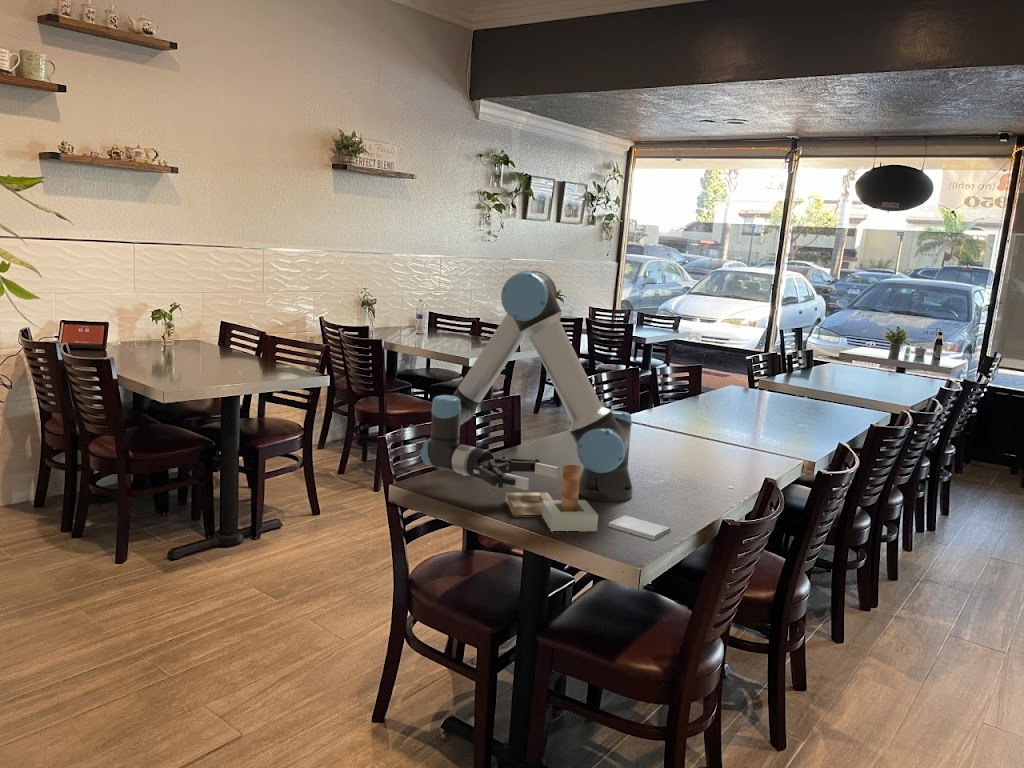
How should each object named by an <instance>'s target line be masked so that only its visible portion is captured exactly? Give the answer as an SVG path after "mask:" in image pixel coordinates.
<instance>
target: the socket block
mask: <svg viewBox="0 0 1024 768" xmlns="http://www.w3.org/2000/svg"><path fill="white" fill-rule="evenodd" d="M541 515H542V517H543V518H544V520H545V521H544V520H543V521H544V522H546V523H547V524H546V523H545V524H546V525H548V526H547V528H548V529H549V528H550V529H549V531H551V533H554V532H553V531H567V532H566V533H569V532H568V531H579V532H597V531H598V523H599V522H598V521H599V514H598V512H596V511H595V509H593V507H592V506H591V504H589V502H588V501H587V500H586V499H578V509H577V512H561V500H559V499H555V500H554V499H553V500H542V511H541ZM542 517H541V518H542ZM543 518H542V519H543Z"/></svg>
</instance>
